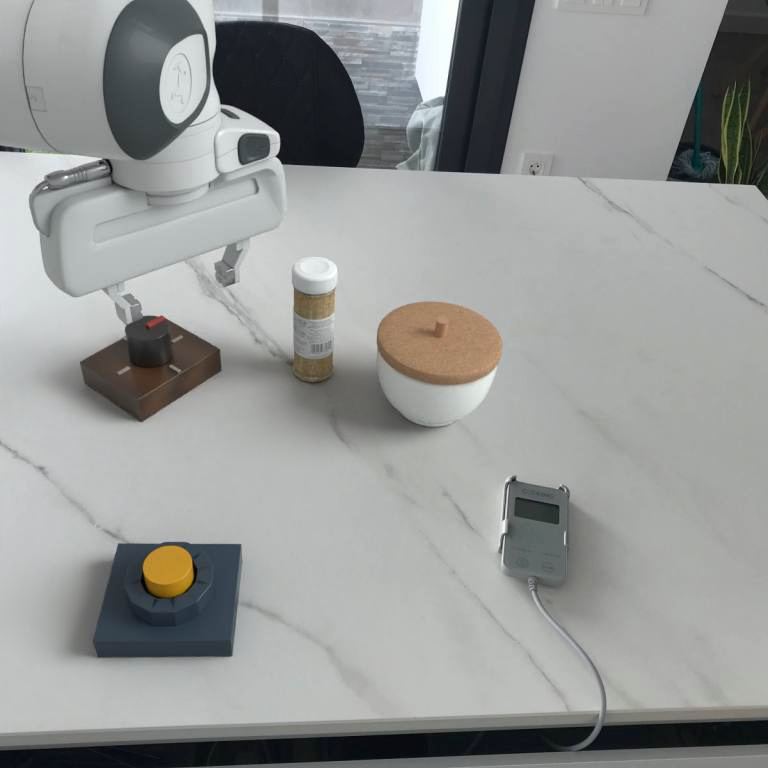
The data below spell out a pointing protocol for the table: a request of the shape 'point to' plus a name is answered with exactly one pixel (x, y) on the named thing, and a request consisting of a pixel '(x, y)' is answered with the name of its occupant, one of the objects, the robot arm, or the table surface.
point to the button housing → (170, 605)
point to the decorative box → (436, 361)
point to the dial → (149, 341)
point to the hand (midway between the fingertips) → (181, 299)
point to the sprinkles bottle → (313, 317)
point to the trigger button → (168, 571)
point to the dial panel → (151, 373)
